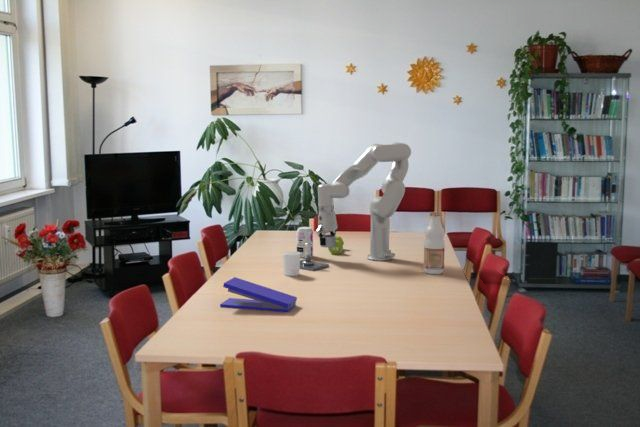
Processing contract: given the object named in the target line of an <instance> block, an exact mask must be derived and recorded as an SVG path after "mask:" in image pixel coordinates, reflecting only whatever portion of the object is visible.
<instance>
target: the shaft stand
mask: <svg viewBox="0 0 640 427" xmlns="http://www.w3.org/2000/svg"><path fill="white" fill-rule="evenodd" d="M304 257H305V258H304V259H302V260H301V259H300V268H299V270H300V269H302V270H306V271H312V272H315V271H318V270H321V269H326V268H328V267H329V266H330V264H329V263H324V262H317V261H314V260H312V257H311V243H305V245H304Z"/></svg>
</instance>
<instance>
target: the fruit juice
mask: <svg viewBox="0 0 640 427" xmlns="http://www.w3.org/2000/svg"><path fill="white" fill-rule="evenodd" d="M441 214H442V213H440V212H430V213H429V217H430V219H429V222H428V225H427V226H426V228H425V230H424V235H425V240H424V241H423V242H424V243H423V247H424V248H423V272H424V274H427V273H428V274H427V275H441V273H442V274H444V270H445V249H446V247H445V246H446V244H445V232H446V231H445V228H444V227H443V224H442V222H441V216H442V215H441Z"/></svg>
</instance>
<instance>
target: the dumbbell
mask: <svg viewBox="0 0 640 427" xmlns="http://www.w3.org/2000/svg"><path fill="white" fill-rule="evenodd" d="M335 240H336V242H335V244H336V246H334V247H327V248H328V251H329V252H330V254H331V255H340V254H341V253H342V251H343V249H344V244H345V241H344V240H343V238H342V237H341V236H337V235H335Z"/></svg>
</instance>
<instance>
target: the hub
mask: <svg viewBox="0 0 640 427" xmlns="http://www.w3.org/2000/svg"><path fill="white" fill-rule="evenodd" d="M335 236H336V235H330V234H325V237H324V238H326V246H322V245H320V247H321V248H328V247H334V246H336V244H335Z"/></svg>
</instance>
